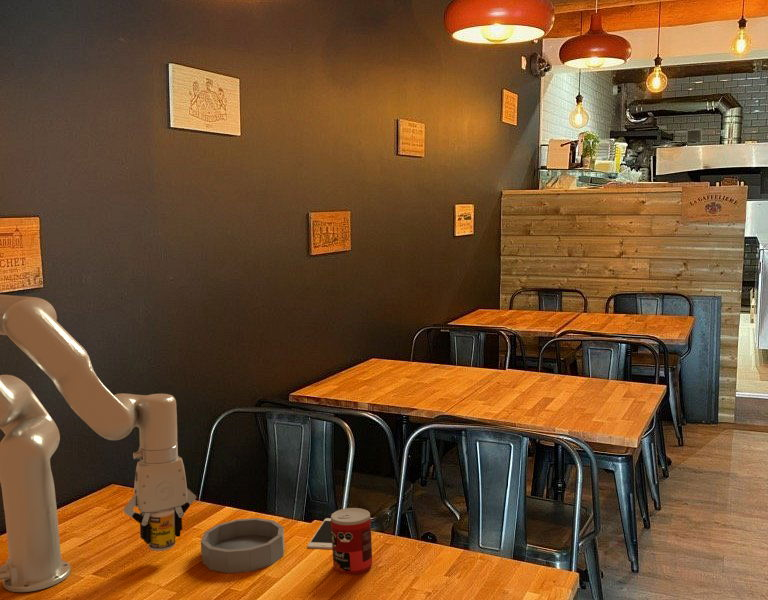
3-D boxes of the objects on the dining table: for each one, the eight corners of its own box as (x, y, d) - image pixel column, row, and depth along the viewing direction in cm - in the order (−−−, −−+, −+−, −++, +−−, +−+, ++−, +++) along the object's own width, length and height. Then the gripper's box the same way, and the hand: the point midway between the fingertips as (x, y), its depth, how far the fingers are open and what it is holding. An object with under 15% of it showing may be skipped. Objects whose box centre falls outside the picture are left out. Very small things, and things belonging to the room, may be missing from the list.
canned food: (328, 563, 156) (325, 512, 155) (364, 555, 159) (361, 504, 158) (341, 579, 149) (338, 525, 148) (378, 570, 152) (376, 517, 151)
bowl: (221, 580, 150) (220, 558, 150) (191, 552, 164) (190, 532, 164) (298, 556, 160) (296, 535, 159) (263, 531, 174) (262, 512, 173)
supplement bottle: (145, 553, 156) (144, 504, 155) (150, 542, 162) (149, 495, 161) (173, 551, 157) (172, 503, 156) (177, 540, 162) (176, 494, 162)
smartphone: (307, 549, 164) (306, 545, 164) (325, 521, 179) (325, 517, 179) (339, 551, 162) (338, 547, 162) (355, 522, 178) (354, 518, 177)
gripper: (121, 466, 150) (125, 554, 151) (205, 451, 159) (207, 534, 161) (111, 456, 156) (114, 541, 157) (192, 443, 165) (194, 523, 167)
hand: (161, 537), depth 159 cm, fingers closed on supplement bottle, 5 cm apart
